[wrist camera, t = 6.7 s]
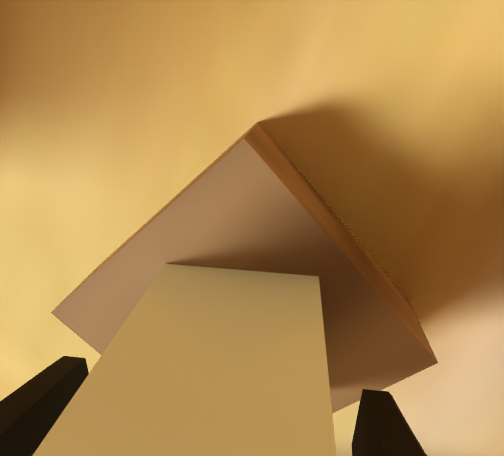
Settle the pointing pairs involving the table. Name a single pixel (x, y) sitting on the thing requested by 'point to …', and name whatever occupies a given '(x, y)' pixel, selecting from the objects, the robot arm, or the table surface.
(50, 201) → the table surface
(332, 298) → the walnut box
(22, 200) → the table surface
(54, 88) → the table surface
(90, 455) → the cream cube with panel
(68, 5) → the table surface
